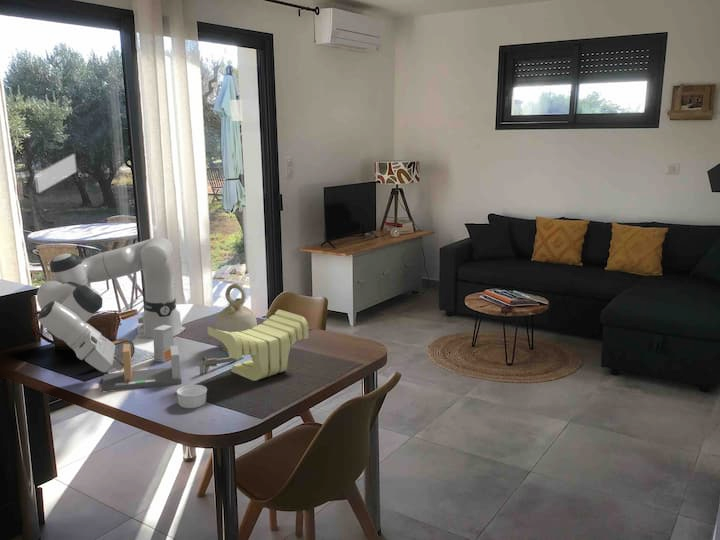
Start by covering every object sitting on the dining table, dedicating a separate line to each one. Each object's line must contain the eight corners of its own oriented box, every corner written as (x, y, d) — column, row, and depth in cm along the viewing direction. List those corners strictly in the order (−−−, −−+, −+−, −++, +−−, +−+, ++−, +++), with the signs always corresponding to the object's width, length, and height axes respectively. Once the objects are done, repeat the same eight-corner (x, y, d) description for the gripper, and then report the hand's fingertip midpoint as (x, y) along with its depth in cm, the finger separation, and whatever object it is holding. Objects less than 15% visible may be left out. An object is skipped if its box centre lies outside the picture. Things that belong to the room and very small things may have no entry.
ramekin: (198, 395, 193) (197, 382, 192) (213, 403, 187) (212, 390, 186) (171, 403, 187) (171, 389, 186) (186, 412, 181) (185, 398, 180)
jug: (233, 339, 247) (231, 278, 242) (265, 345, 240) (264, 282, 235) (208, 350, 234) (205, 286, 228) (241, 357, 227) (239, 290, 222)
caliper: (202, 376, 209) (201, 358, 208) (199, 375, 209) (199, 357, 208) (244, 359, 226) (243, 342, 224) (241, 358, 226) (241, 342, 225)
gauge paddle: (124, 384, 196) (122, 354, 194) (125, 373, 205) (123, 344, 203) (131, 383, 197) (129, 353, 195) (132, 372, 206) (130, 343, 204)
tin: (131, 357, 226) (130, 335, 224) (136, 359, 224) (135, 337, 222) (93, 369, 214) (91, 346, 212) (98, 371, 212) (96, 347, 210)
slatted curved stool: (238, 390, 196) (236, 336, 193) (209, 377, 207) (207, 326, 203) (308, 366, 218) (308, 317, 214) (279, 356, 228) (278, 309, 225)
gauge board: (101, 391, 194) (99, 363, 193) (104, 378, 206) (102, 350, 204) (181, 383, 202) (180, 355, 200) (179, 370, 213) (178, 344, 211)
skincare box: (164, 362, 221) (162, 330, 218) (154, 361, 222) (152, 329, 220) (174, 357, 226) (173, 325, 224) (164, 355, 228) (163, 324, 225)
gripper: (83, 338, 205) (117, 364, 210) (76, 359, 186) (113, 386, 191) (97, 324, 205) (130, 350, 210) (91, 343, 186) (128, 371, 191)
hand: (122, 367), depth 200 cm, fingers closed, pressing on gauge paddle
